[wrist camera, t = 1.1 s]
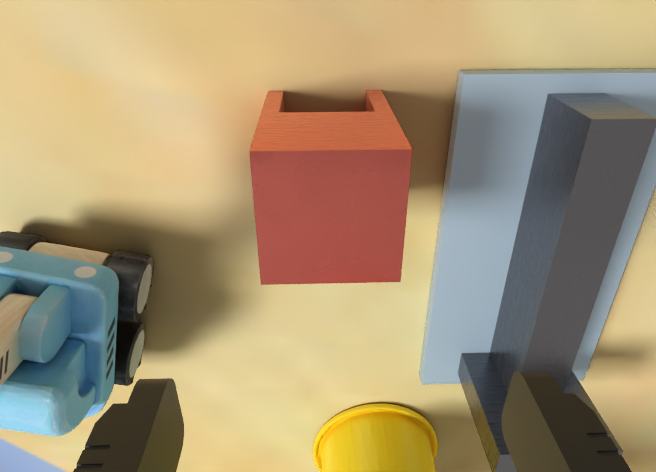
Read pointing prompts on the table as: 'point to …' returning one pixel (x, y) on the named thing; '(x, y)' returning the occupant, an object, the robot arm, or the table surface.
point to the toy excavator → (66, 330)
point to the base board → (510, 205)
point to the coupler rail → (559, 253)
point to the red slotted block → (330, 193)
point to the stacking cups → (376, 441)
